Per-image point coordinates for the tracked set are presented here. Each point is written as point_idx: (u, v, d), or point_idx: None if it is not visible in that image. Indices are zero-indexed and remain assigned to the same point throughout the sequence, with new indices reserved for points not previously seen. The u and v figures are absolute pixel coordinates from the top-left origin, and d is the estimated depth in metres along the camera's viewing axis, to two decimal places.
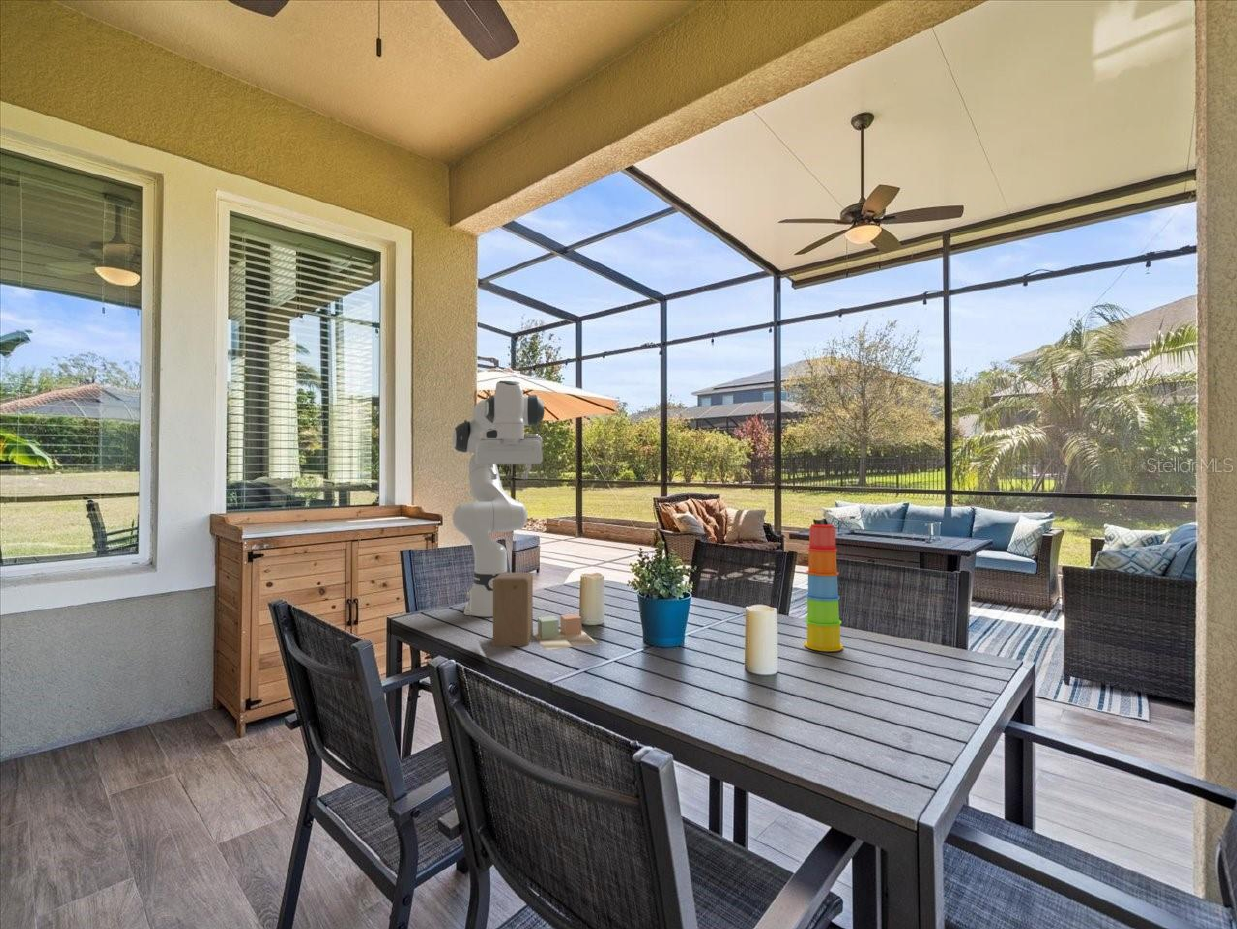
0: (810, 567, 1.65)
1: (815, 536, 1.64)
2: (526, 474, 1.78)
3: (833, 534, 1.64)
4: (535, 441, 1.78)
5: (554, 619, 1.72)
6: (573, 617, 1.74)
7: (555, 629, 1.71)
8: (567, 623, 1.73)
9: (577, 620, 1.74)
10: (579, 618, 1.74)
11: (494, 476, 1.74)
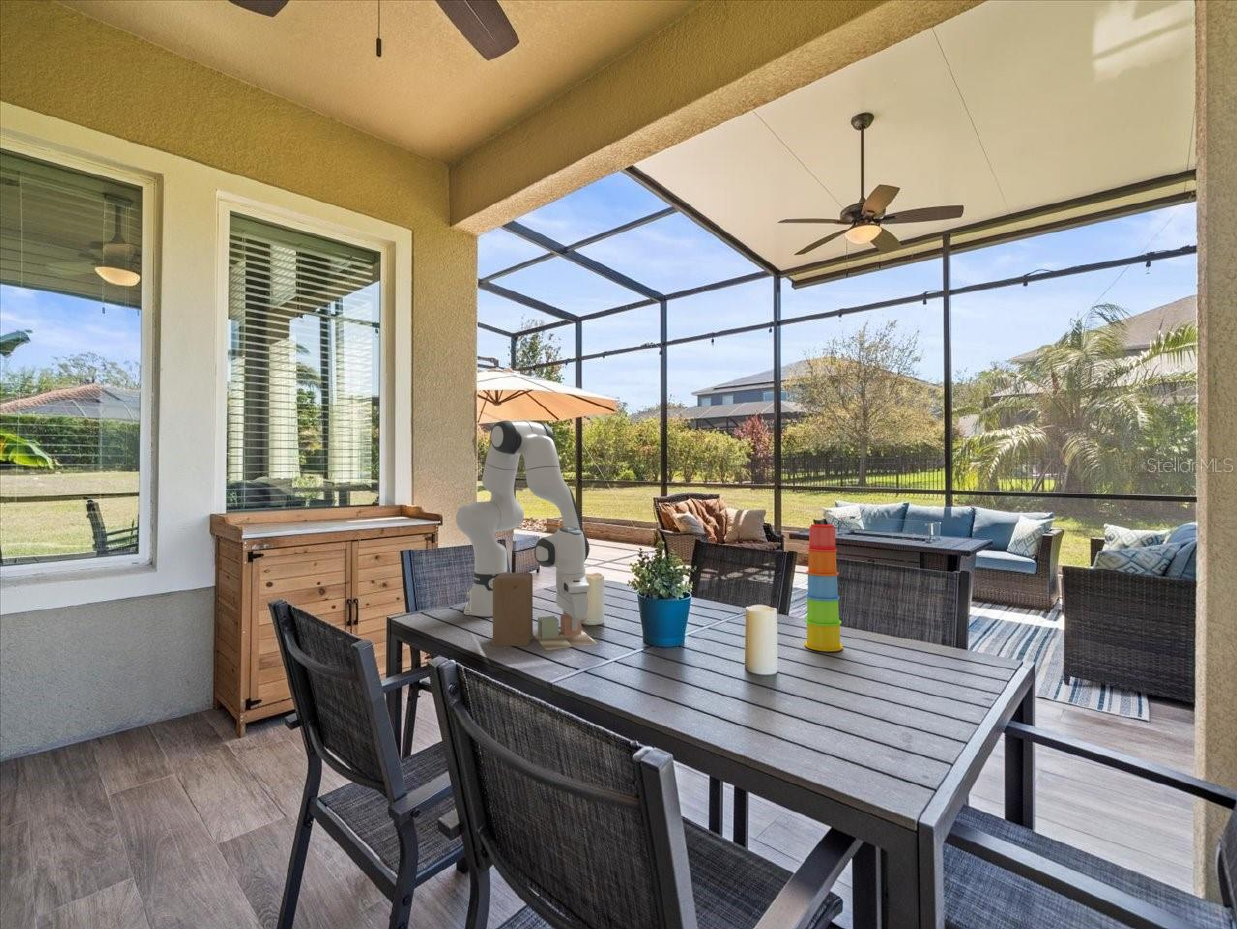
0: (810, 567, 1.65)
1: (815, 536, 1.64)
2: None
3: (833, 534, 1.64)
4: None
5: (554, 619, 1.72)
6: None
7: (555, 629, 1.71)
8: (567, 623, 1.73)
9: None
10: None
11: None
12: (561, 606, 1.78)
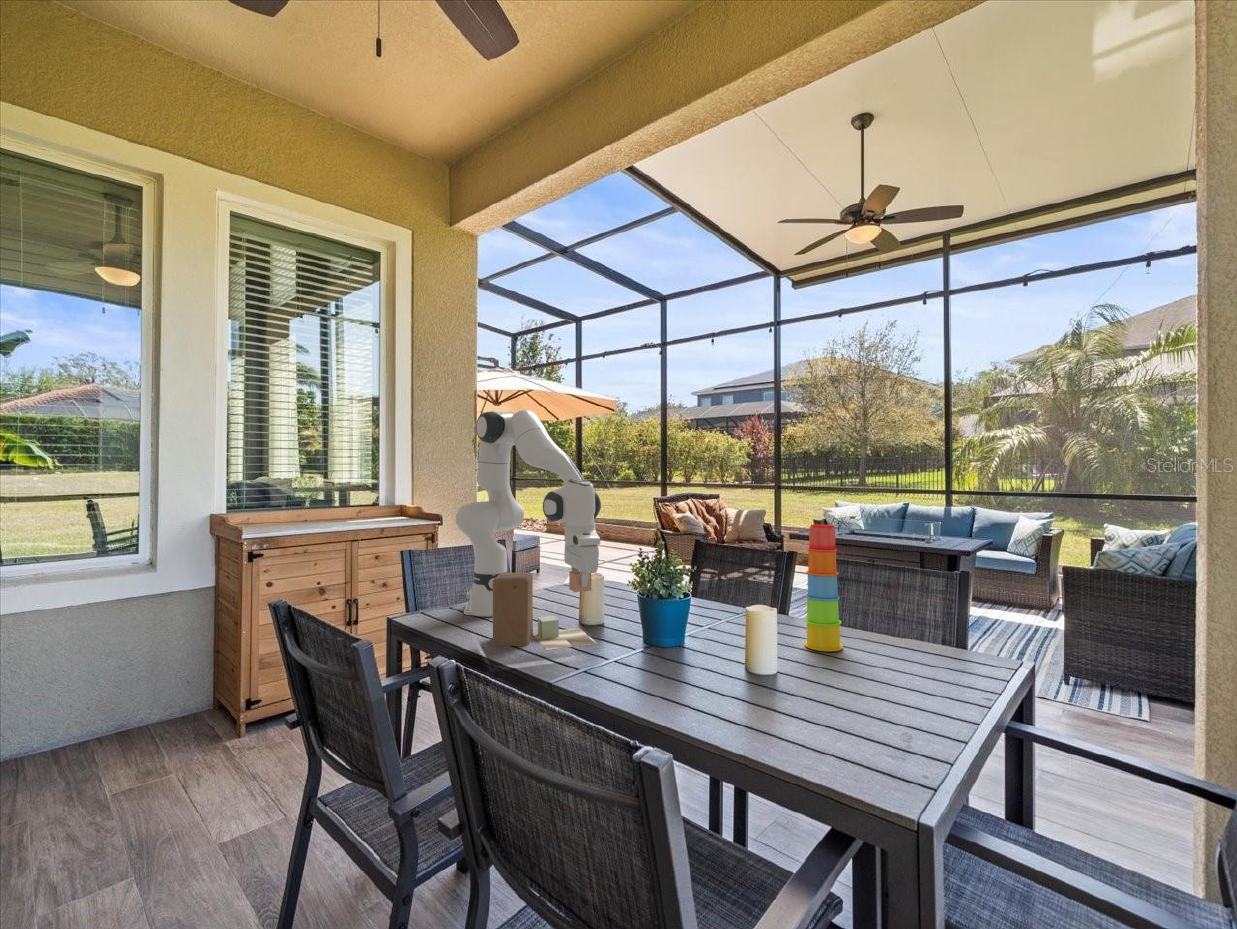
0: (810, 567, 1.65)
1: (815, 536, 1.64)
2: None
3: (833, 534, 1.64)
4: None
5: (554, 619, 1.72)
6: None
7: (555, 629, 1.71)
8: (576, 579, 1.64)
9: None
10: (589, 574, 1.66)
11: None
12: (570, 562, 1.70)
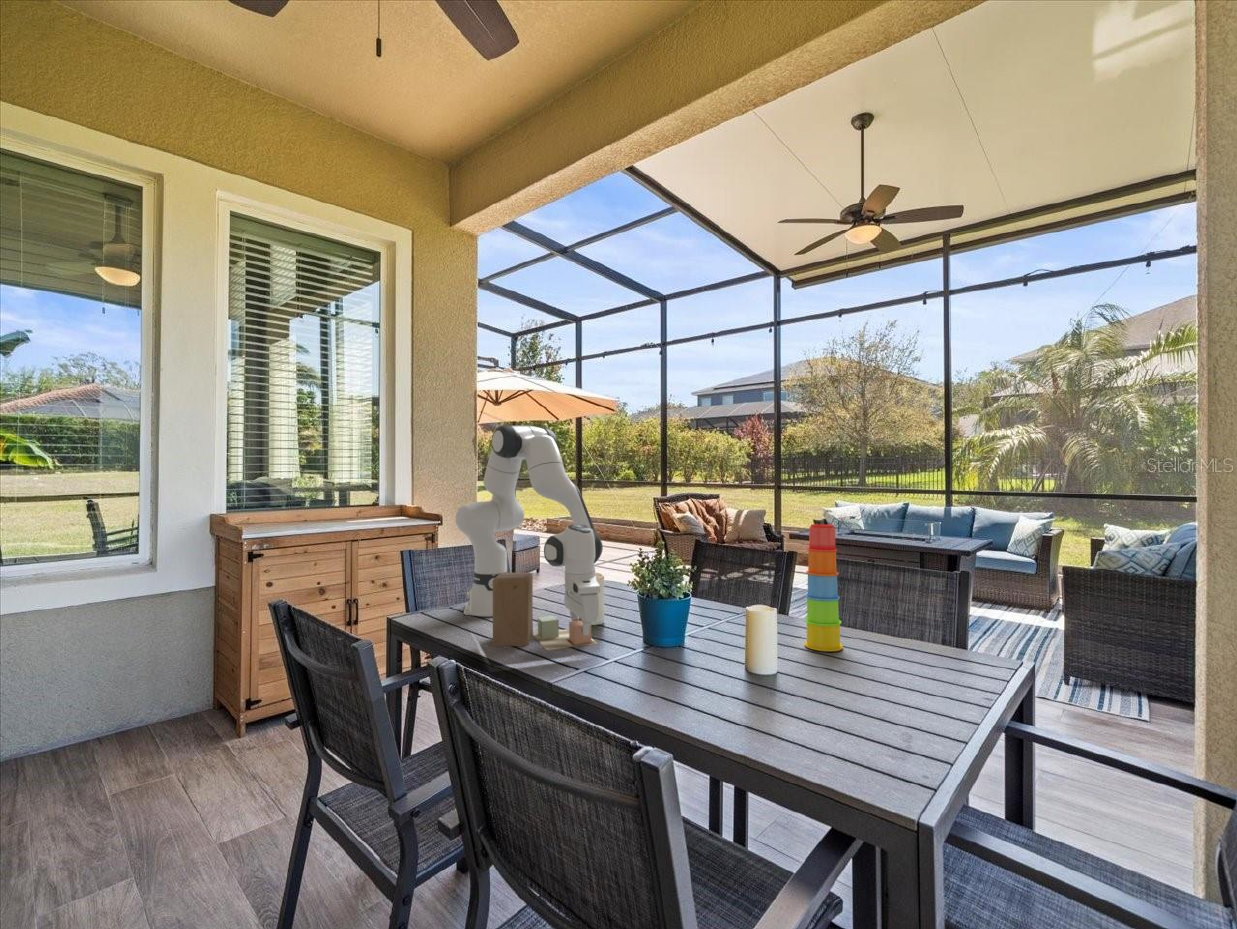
0: (810, 567, 1.65)
1: (815, 536, 1.64)
2: None
3: (833, 534, 1.64)
4: None
5: (554, 619, 1.72)
6: None
7: (555, 629, 1.71)
8: (576, 631, 1.64)
9: None
10: None
11: None
12: (570, 608, 1.70)
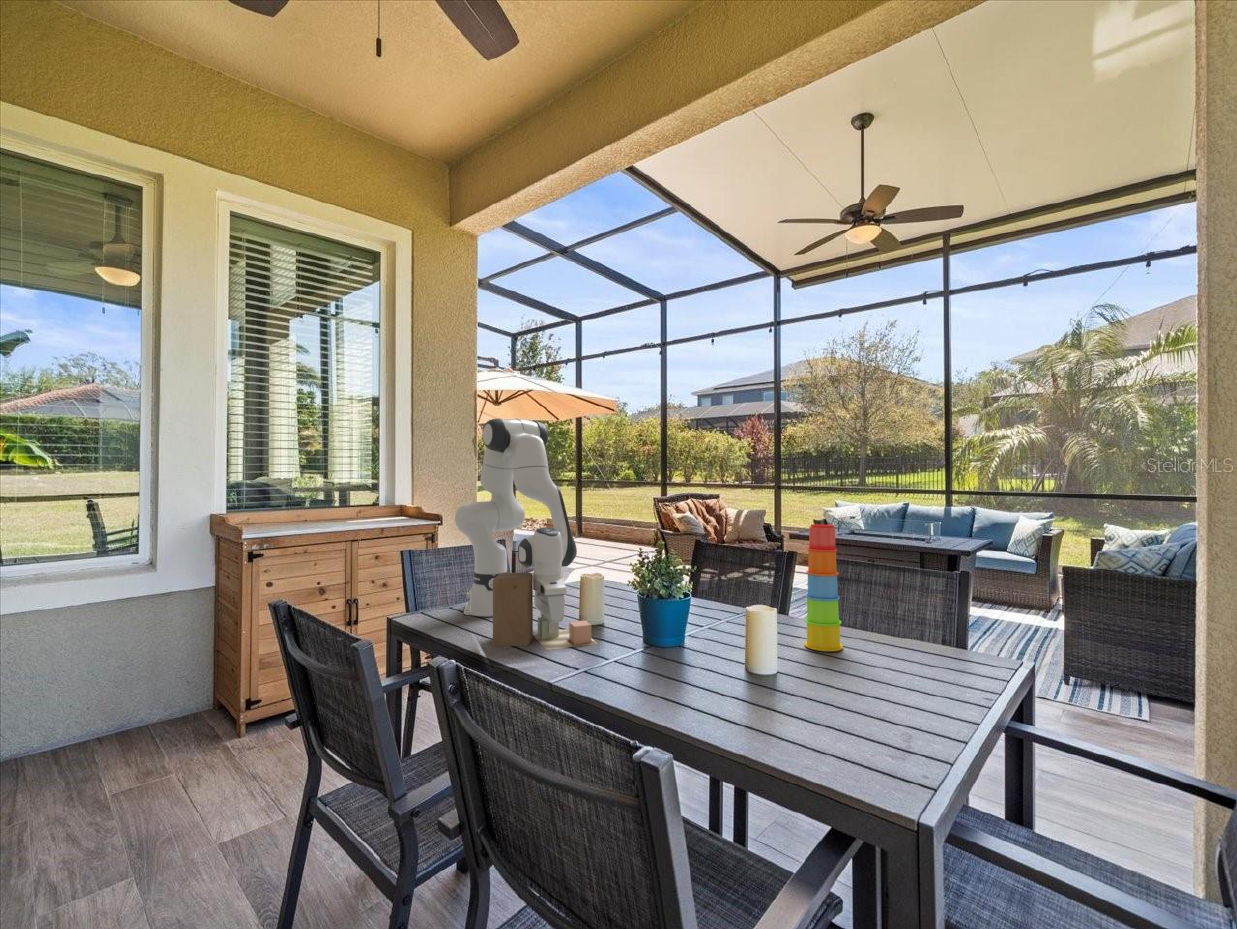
0: (810, 567, 1.65)
1: (815, 536, 1.64)
2: None
3: (833, 534, 1.64)
4: None
5: None
6: (583, 624, 1.66)
7: (555, 629, 1.71)
8: (576, 631, 1.64)
9: (587, 627, 1.65)
10: (589, 625, 1.66)
11: None
12: (539, 608, 1.76)
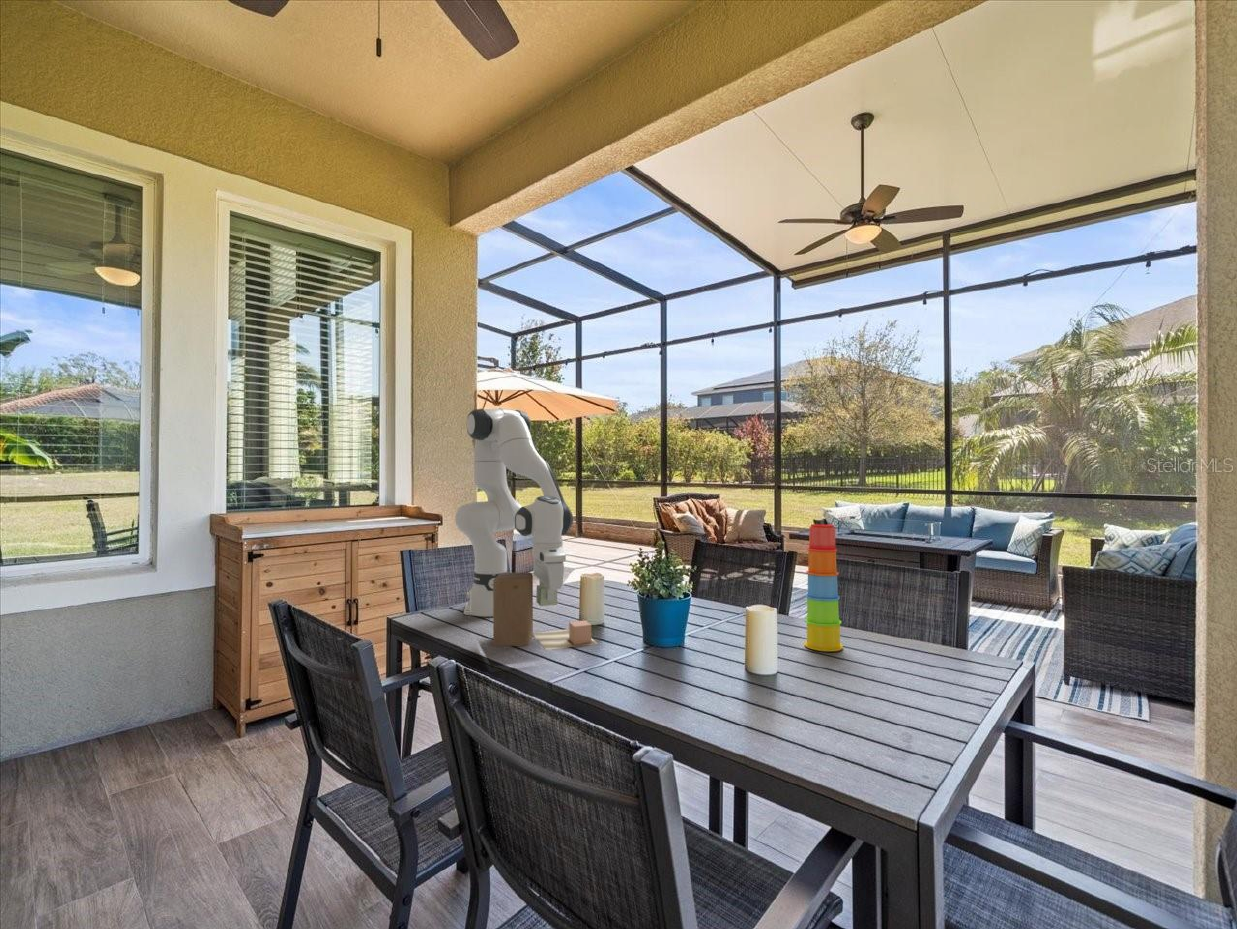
0: (810, 567, 1.65)
1: (815, 536, 1.64)
2: None
3: (833, 534, 1.64)
4: None
5: None
6: (583, 624, 1.66)
7: (553, 597, 1.72)
8: (576, 631, 1.64)
9: (587, 627, 1.65)
10: (589, 625, 1.66)
11: None
12: (538, 576, 1.76)
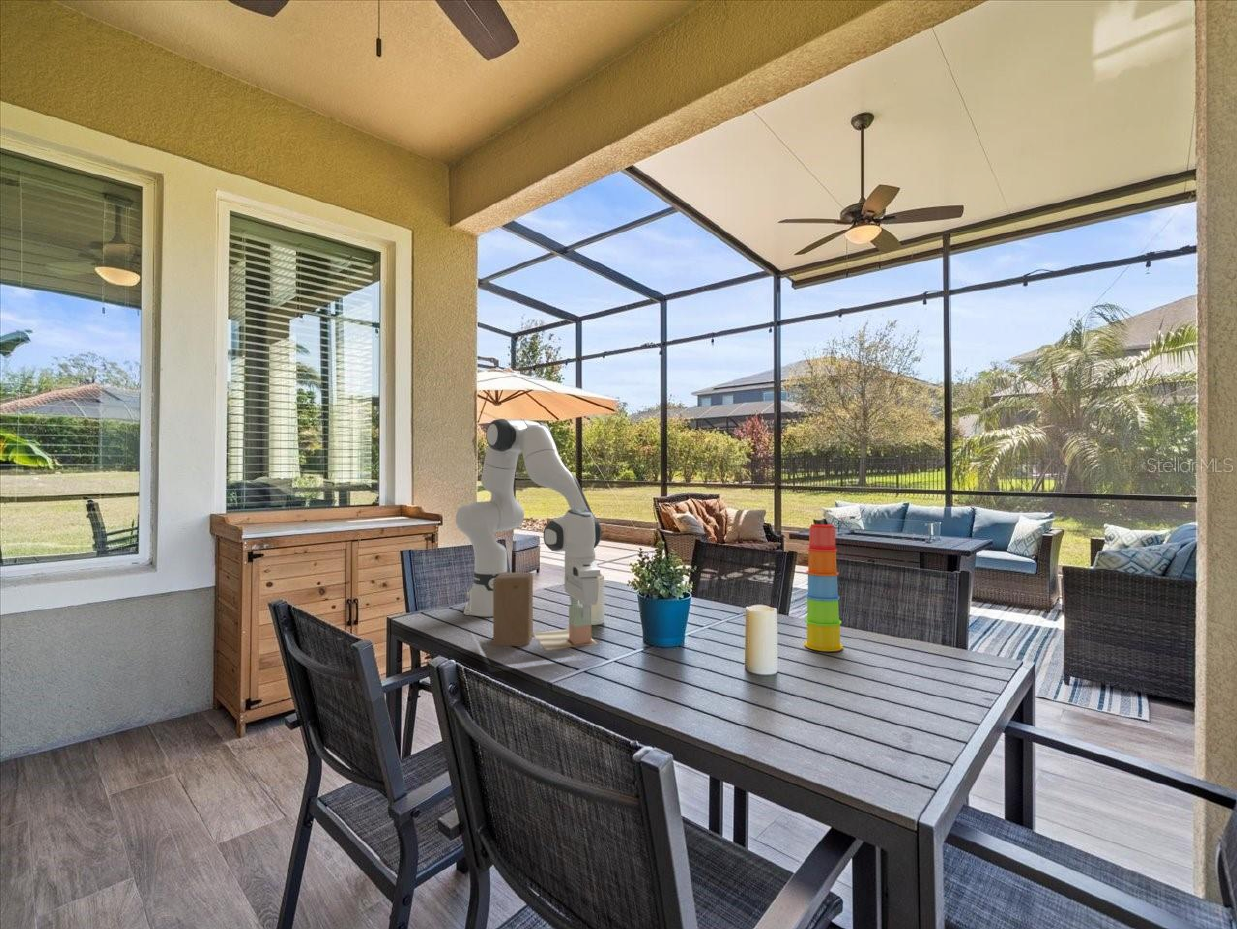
0: (810, 567, 1.65)
1: (815, 536, 1.64)
2: None
3: (833, 534, 1.64)
4: None
5: None
6: None
7: None
8: (576, 631, 1.64)
9: (587, 627, 1.65)
10: (589, 625, 1.66)
11: None
12: (570, 592, 1.70)
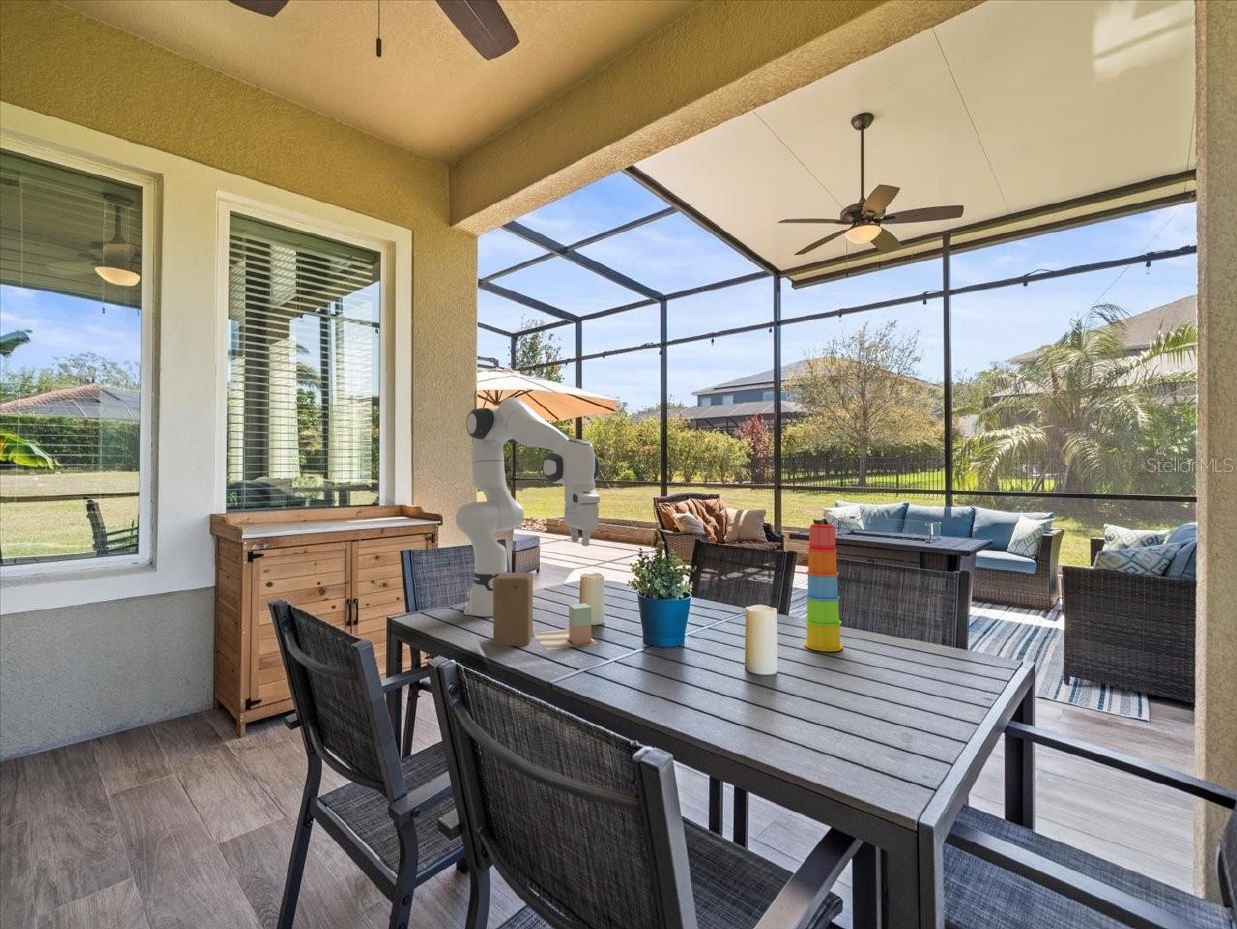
0: (810, 567, 1.65)
1: (815, 536, 1.64)
2: None
3: (833, 534, 1.64)
4: None
5: (586, 606, 1.66)
6: None
7: (587, 617, 1.65)
8: (576, 631, 1.64)
9: (587, 627, 1.65)
10: (589, 625, 1.66)
11: None
12: (570, 523, 1.70)
